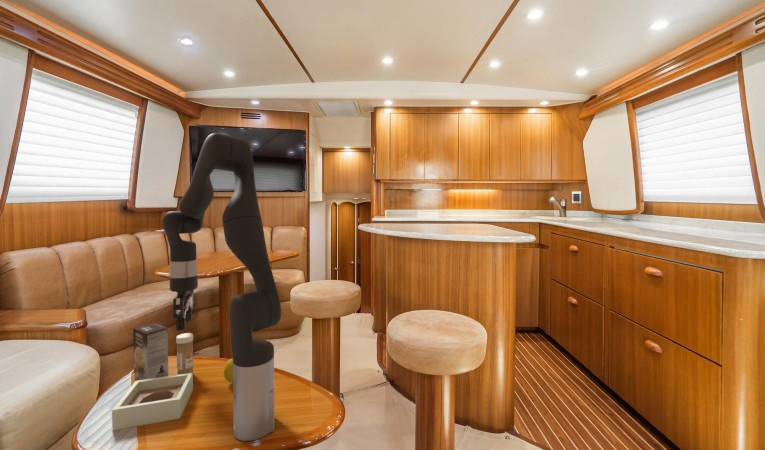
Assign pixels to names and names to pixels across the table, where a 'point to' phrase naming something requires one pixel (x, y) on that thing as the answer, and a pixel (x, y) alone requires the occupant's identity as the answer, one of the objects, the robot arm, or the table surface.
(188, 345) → the sprinkles bottle
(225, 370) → the lemon
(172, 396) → the peg box
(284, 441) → the table surface
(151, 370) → the coffee box
